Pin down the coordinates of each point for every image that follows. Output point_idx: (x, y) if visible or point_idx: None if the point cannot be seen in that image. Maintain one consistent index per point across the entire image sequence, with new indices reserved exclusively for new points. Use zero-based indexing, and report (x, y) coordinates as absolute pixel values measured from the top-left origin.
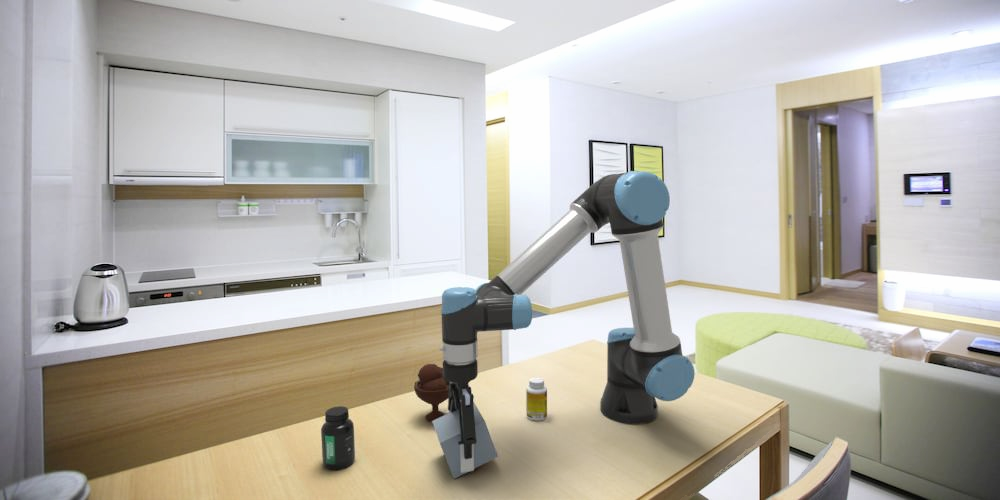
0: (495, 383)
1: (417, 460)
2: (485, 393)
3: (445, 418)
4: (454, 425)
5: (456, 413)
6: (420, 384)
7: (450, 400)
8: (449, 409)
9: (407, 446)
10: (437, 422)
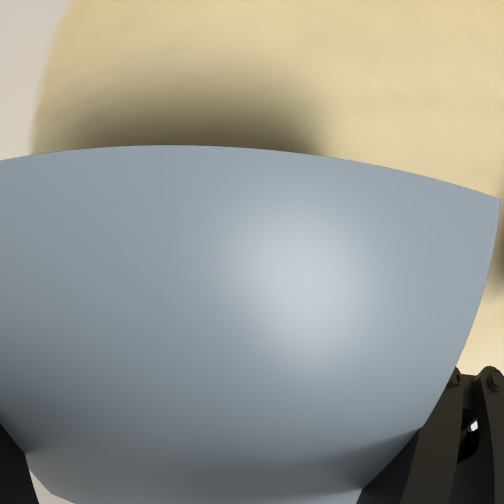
0: (500, 370)
1: (336, 30)
2: (498, 356)
3: (386, 379)
4: (94, 418)
5: (338, 469)
6: None
7: (488, 476)
8: (480, 389)
9: (466, 54)
10: (419, 255)
